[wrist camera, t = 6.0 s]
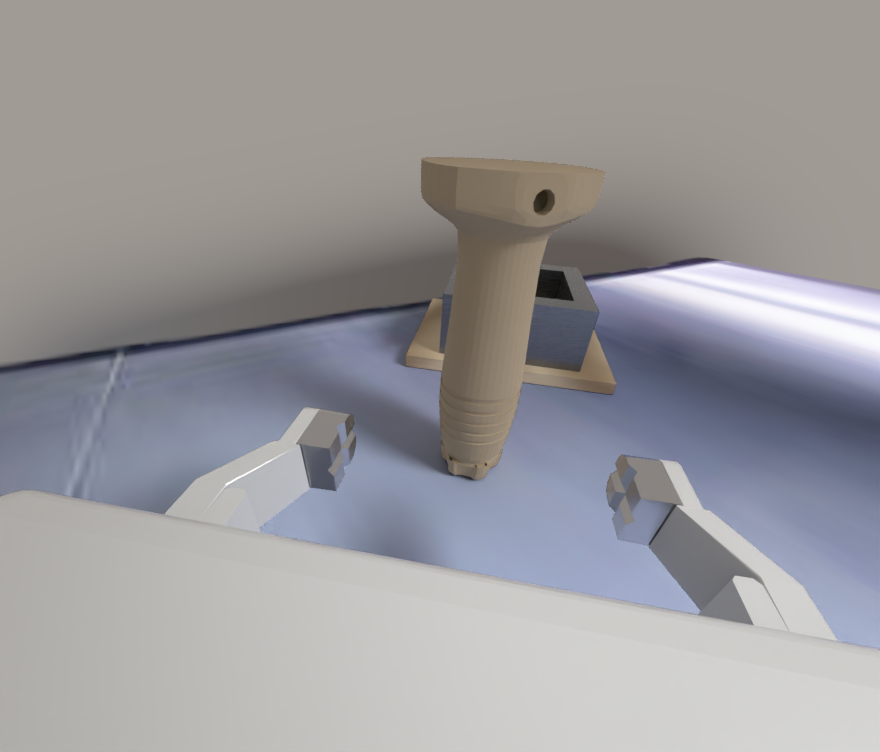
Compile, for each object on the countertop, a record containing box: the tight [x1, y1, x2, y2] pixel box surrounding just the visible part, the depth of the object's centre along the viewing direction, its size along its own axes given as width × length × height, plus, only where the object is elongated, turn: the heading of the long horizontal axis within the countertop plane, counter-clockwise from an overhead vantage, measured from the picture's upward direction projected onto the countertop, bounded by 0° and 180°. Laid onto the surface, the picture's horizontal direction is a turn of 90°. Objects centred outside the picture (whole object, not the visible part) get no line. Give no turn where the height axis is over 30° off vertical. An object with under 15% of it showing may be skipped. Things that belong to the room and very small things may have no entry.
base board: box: [406, 299, 616, 395], centre depth 33 cm, size 16×12×1 cm
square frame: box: [439, 262, 599, 372], centre depth 31 cm, size 11×10×5 cm
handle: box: [421, 157, 605, 480], centre depth 17 cm, size 5×6×15 cm
